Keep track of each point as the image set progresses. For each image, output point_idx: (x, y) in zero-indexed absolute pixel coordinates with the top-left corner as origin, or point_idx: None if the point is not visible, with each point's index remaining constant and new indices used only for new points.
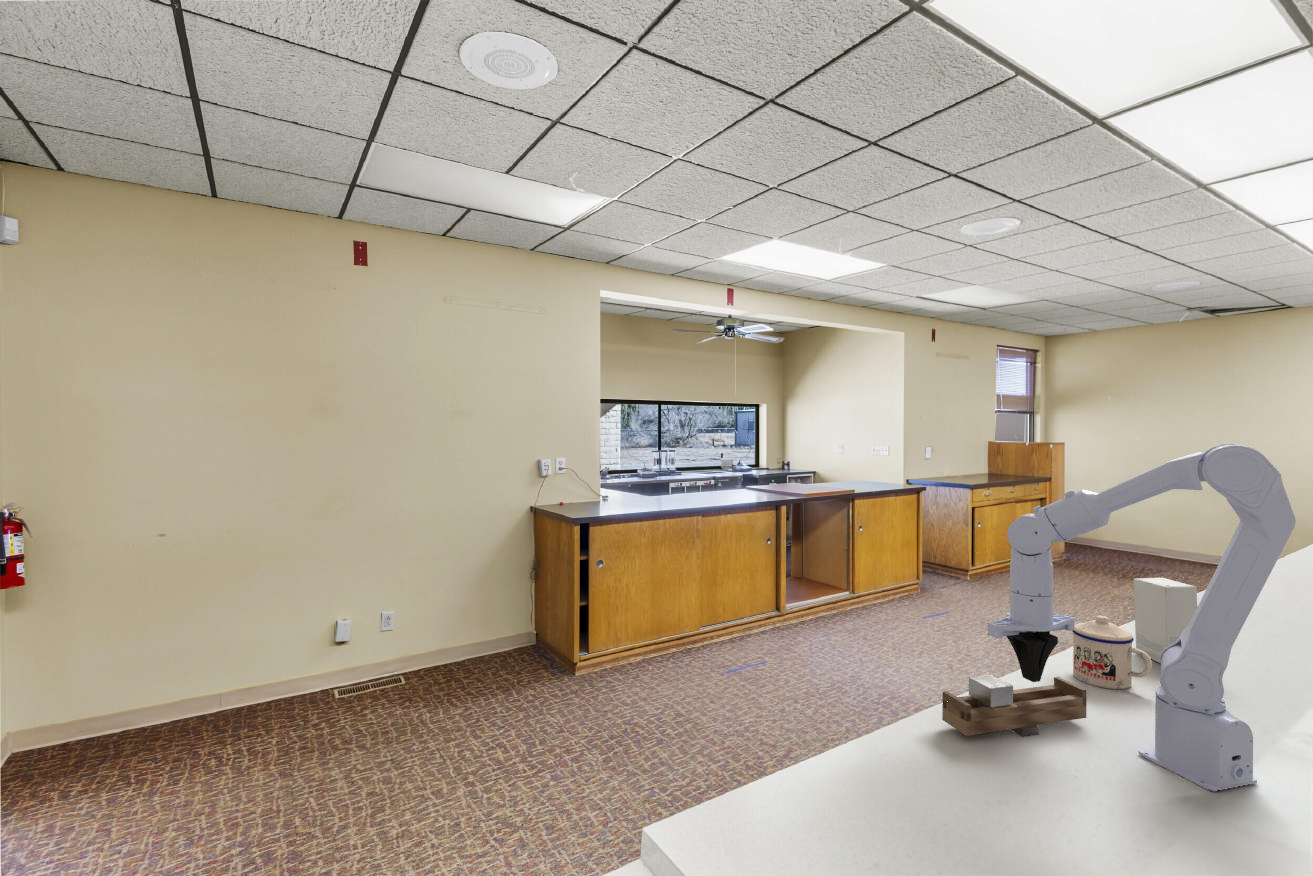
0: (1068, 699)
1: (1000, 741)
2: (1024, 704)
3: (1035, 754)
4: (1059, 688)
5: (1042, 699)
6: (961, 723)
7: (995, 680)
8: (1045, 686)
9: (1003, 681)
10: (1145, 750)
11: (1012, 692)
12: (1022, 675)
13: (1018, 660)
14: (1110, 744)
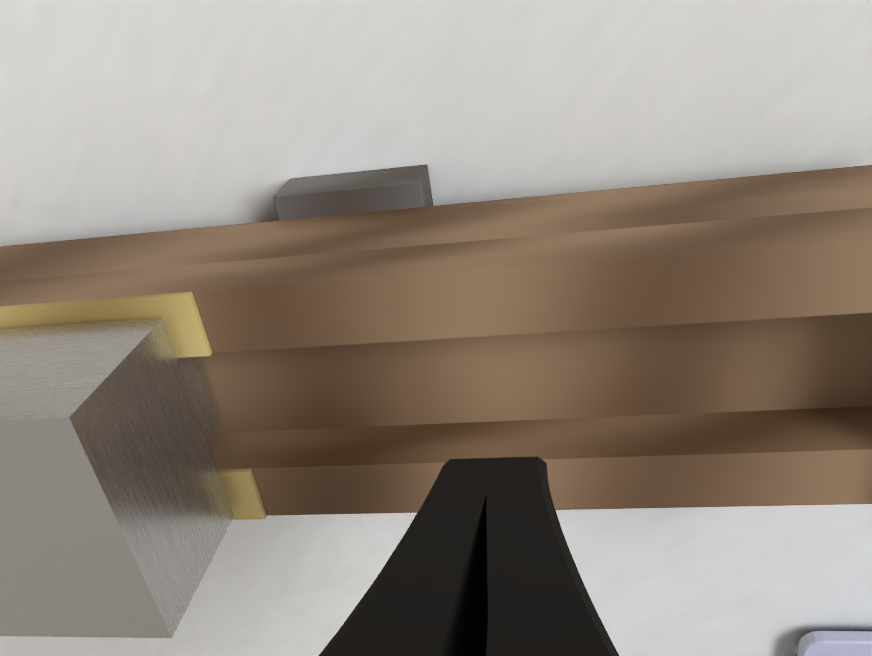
0: (776, 504)
1: None
2: (344, 498)
3: (305, 531)
4: None
5: (551, 467)
6: None
7: (61, 534)
8: (857, 251)
9: (128, 564)
10: (852, 648)
11: (190, 589)
12: (438, 476)
13: (374, 588)
14: (778, 538)
